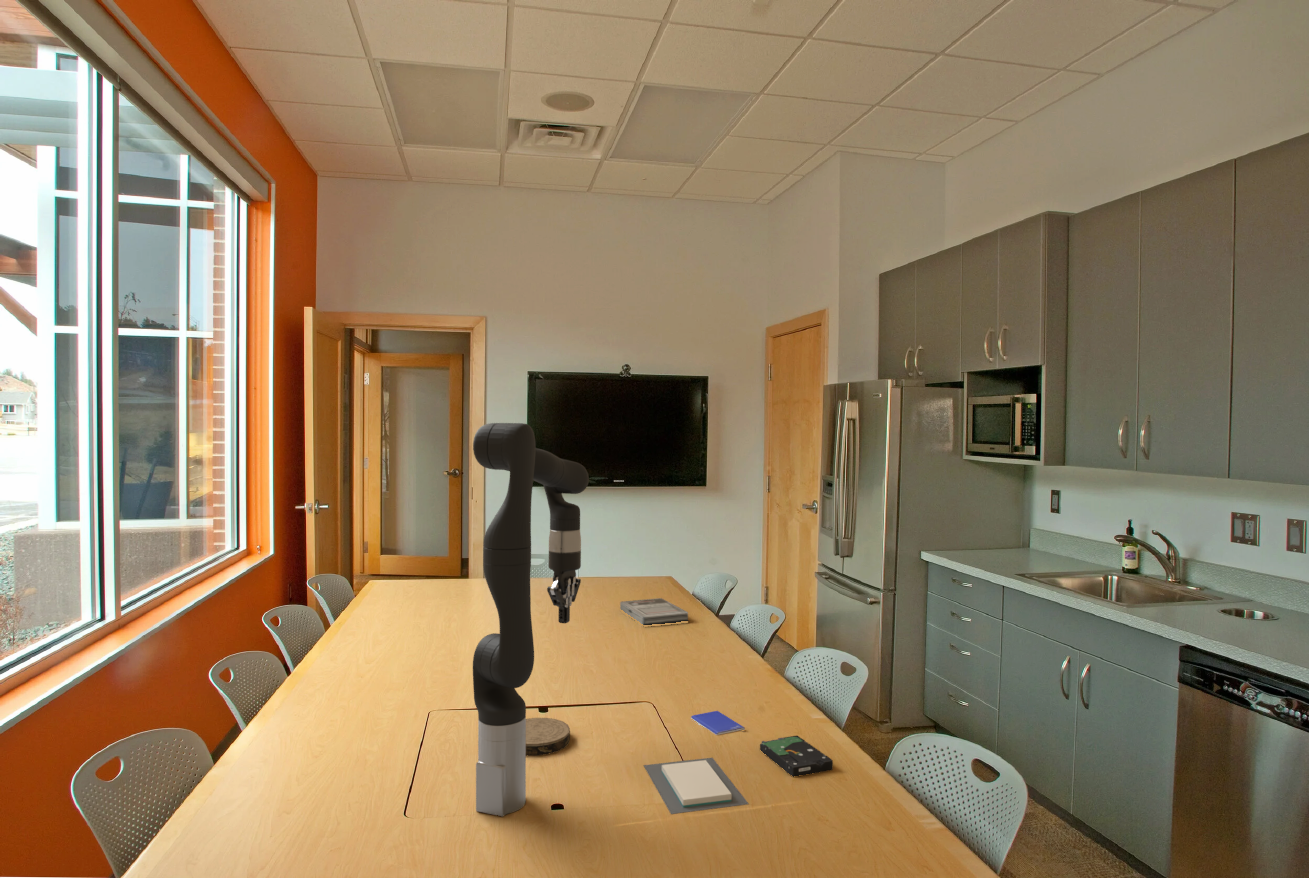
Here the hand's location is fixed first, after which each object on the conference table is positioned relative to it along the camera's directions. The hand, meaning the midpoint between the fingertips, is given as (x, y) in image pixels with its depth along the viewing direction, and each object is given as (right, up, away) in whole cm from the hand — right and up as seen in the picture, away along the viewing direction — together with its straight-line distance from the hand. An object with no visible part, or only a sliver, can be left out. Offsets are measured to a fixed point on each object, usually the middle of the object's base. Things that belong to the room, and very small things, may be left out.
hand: (564, 622), depth 181 cm
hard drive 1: (+21, -27, +121) cm, 126 cm away
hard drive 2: (+37, -30, +13) cm, 49 cm away
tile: (+28, -28, -13) cm, 41 cm away
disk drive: (+53, -30, -7) cm, 61 cm away
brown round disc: (-7, -29, +2) cm, 30 cm away
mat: (+29, -29, -20) cm, 46 cm away
